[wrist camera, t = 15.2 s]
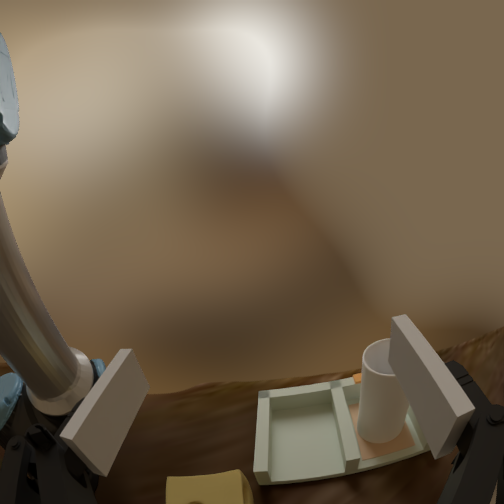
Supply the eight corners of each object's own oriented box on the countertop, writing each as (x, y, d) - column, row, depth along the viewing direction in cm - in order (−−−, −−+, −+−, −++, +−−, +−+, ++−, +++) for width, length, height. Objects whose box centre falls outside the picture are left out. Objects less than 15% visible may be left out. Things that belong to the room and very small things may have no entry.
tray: (432, 449, 29) (441, 429, 27) (259, 485, 32) (252, 469, 30) (400, 383, 46) (404, 362, 44) (263, 408, 49) (258, 388, 47)
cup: (347, 432, 38) (351, 364, 33) (372, 402, 42) (378, 333, 38) (388, 450, 31) (406, 382, 27) (410, 415, 36) (427, 345, 32)
